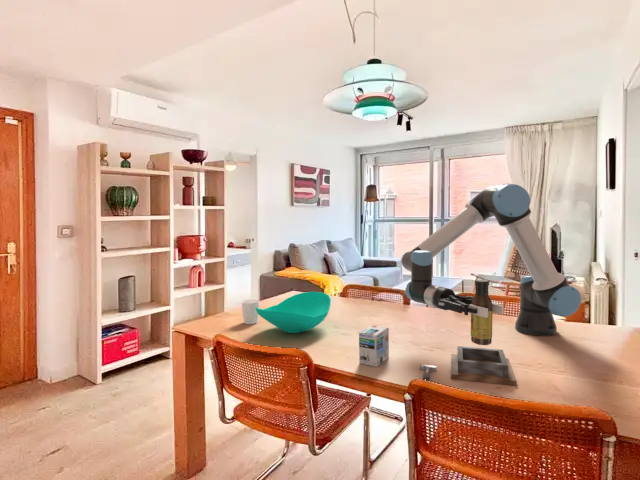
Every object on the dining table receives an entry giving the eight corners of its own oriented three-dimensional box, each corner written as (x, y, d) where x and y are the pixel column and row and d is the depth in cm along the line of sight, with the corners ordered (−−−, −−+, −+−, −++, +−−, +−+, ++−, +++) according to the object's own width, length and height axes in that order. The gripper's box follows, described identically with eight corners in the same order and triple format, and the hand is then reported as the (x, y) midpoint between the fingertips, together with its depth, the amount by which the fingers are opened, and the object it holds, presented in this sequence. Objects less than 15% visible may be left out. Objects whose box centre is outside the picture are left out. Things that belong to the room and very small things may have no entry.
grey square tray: (508, 363, 134) (508, 348, 133) (516, 385, 117) (516, 368, 116) (451, 357, 139) (451, 343, 139) (450, 378, 122) (450, 362, 122)
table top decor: (295, 316, 199) (295, 289, 198) (345, 323, 184) (345, 294, 183) (239, 338, 165) (238, 306, 164) (294, 350, 151) (293, 315, 150)
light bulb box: (377, 367, 132) (376, 335, 132) (358, 363, 136) (358, 332, 135) (389, 357, 142) (389, 326, 141) (371, 353, 145) (371, 324, 144)
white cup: (239, 324, 187) (238, 302, 186) (248, 319, 194) (247, 299, 193) (253, 325, 184) (253, 303, 183) (262, 321, 191) (262, 300, 191)
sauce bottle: (475, 338, 132) (476, 277, 130) (494, 342, 128) (496, 279, 126) (467, 342, 127) (468, 280, 126) (487, 347, 123) (489, 282, 122)
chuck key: (420, 368, 131) (420, 362, 131) (436, 369, 130) (436, 363, 129) (417, 379, 122) (417, 373, 122) (434, 381, 121) (434, 375, 121)
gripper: (459, 304, 147) (516, 319, 127) (419, 311, 139) (472, 328, 118) (460, 284, 147) (516, 296, 126) (419, 289, 138) (472, 303, 118)
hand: (494, 311), depth 122 cm, fingers closed on sauce bottle, 6 cm apart
